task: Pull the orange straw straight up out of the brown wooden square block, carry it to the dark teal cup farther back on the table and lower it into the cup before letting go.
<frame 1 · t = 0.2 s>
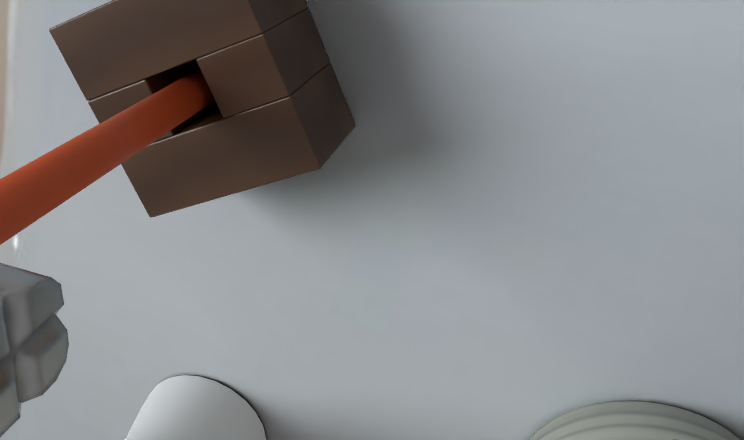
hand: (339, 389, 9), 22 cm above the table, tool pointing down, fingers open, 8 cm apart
brown wooden square block: (237, 65, 31), on the table
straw: (127, 133, 24), in the brown wooden square block
cup: (208, 423, 43), on the table
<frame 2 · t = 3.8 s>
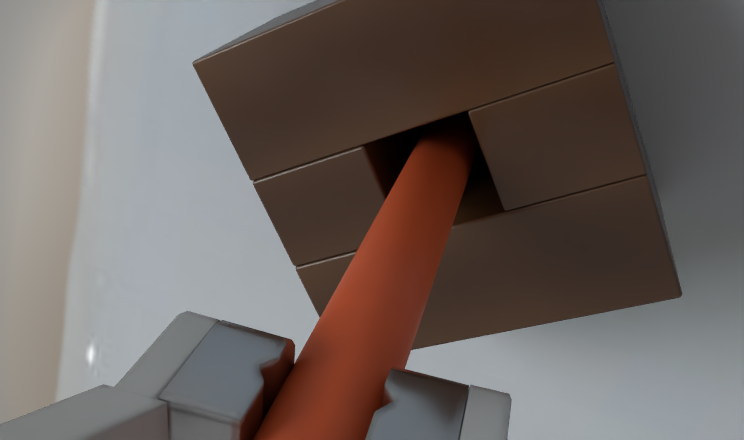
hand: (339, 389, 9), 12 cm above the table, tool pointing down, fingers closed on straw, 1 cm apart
brown wooden square block: (464, 108, 20), on the table
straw: (393, 271, 12), in the brown wooden square block, touching gripper
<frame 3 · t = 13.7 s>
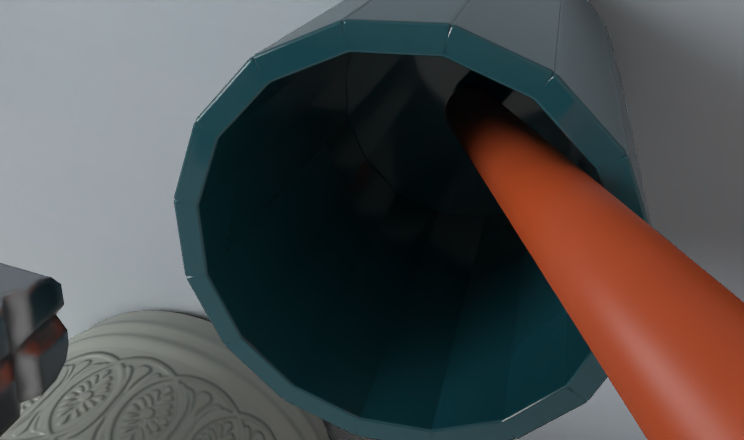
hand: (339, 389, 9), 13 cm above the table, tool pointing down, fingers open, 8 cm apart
jar: (198, 426, 30), on the table
teal cup: (470, 95, 21), on the table, touching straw
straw: (542, 193, 12), in the teal cup, tilted 18°
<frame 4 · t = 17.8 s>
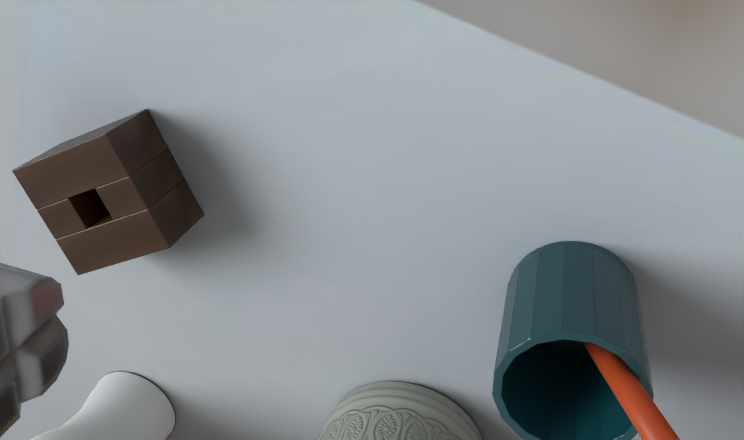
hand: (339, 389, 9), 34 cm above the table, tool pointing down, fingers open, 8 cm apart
brown wooden square block: (131, 179, 51), on the table
teal cup: (571, 295, 46), on the table, touching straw
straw: (618, 375, 37), in the teal cup, tilted 18°
cup: (136, 405, 62), on the table
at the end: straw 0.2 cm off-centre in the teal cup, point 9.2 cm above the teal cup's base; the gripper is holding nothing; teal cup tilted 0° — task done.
